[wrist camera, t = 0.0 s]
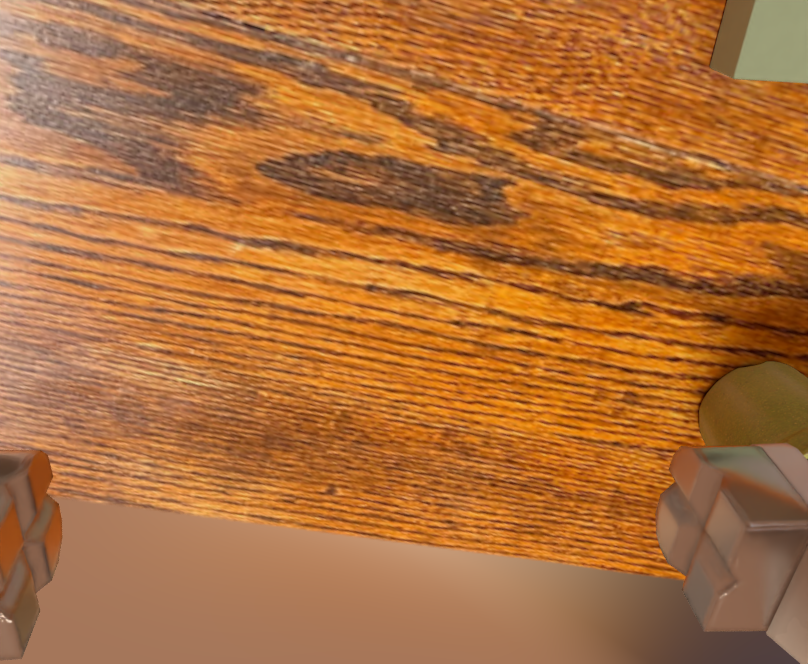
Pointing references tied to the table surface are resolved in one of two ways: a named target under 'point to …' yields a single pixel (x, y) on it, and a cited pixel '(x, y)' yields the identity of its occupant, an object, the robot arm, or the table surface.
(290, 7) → the table surface
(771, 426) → the plant pot
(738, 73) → the scale
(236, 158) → the table surface
